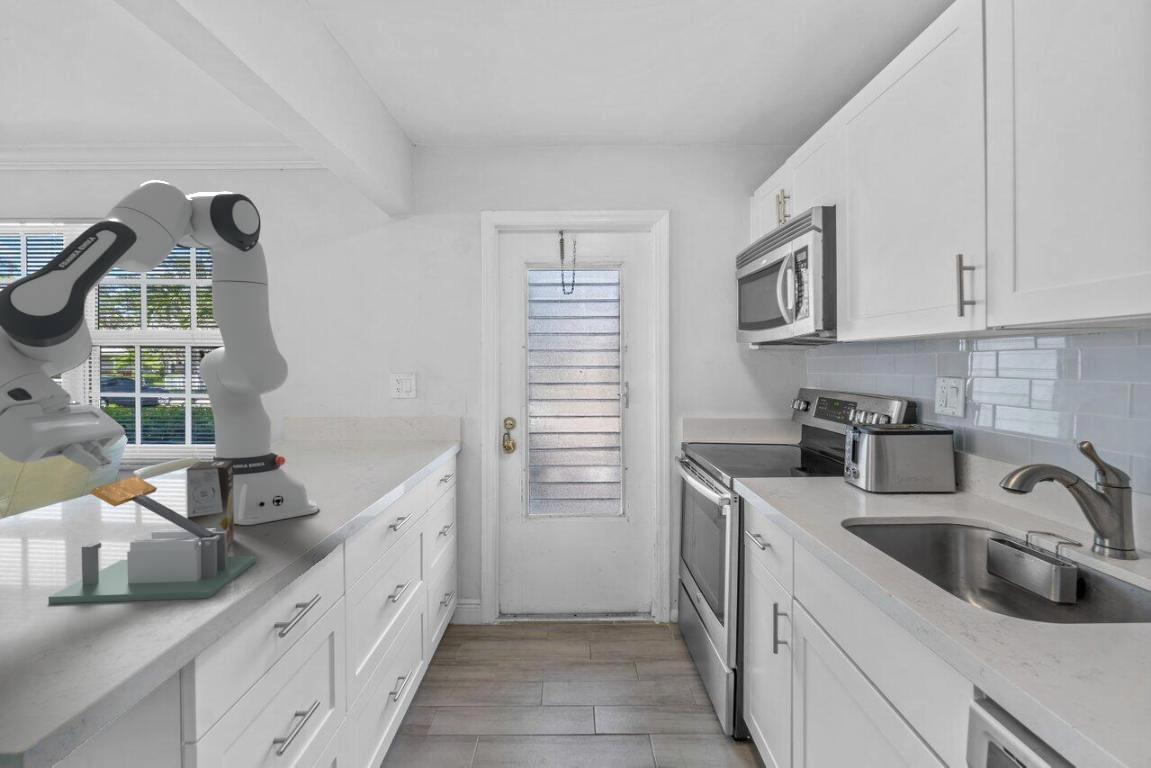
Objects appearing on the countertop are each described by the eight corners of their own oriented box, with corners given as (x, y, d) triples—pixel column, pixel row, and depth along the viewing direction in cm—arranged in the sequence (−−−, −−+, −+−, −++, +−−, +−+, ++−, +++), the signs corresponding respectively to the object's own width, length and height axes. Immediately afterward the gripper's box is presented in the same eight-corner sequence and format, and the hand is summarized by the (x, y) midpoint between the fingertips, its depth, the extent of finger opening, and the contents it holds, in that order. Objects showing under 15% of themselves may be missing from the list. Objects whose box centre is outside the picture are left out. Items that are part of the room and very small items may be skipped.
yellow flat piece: (89, 493, 88) (92, 488, 88) (132, 479, 97) (135, 475, 97) (191, 549, 89) (194, 544, 89) (223, 530, 99) (226, 526, 99)
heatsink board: (48, 603, 85) (47, 553, 84) (121, 565, 101) (120, 523, 100) (209, 598, 87) (208, 549, 87) (255, 561, 103) (255, 520, 103)
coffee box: (227, 553, 108) (226, 467, 107) (186, 557, 105) (185, 469, 105) (234, 539, 116) (233, 459, 116) (197, 542, 114) (196, 461, 113)
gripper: (68, 415, 100) (130, 470, 102) (-45, 426, 80) (35, 495, 81) (95, 389, 101) (157, 444, 102) (-10, 394, 80) (69, 463, 82)
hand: (102, 467), depth 91 cm, fingers closed
